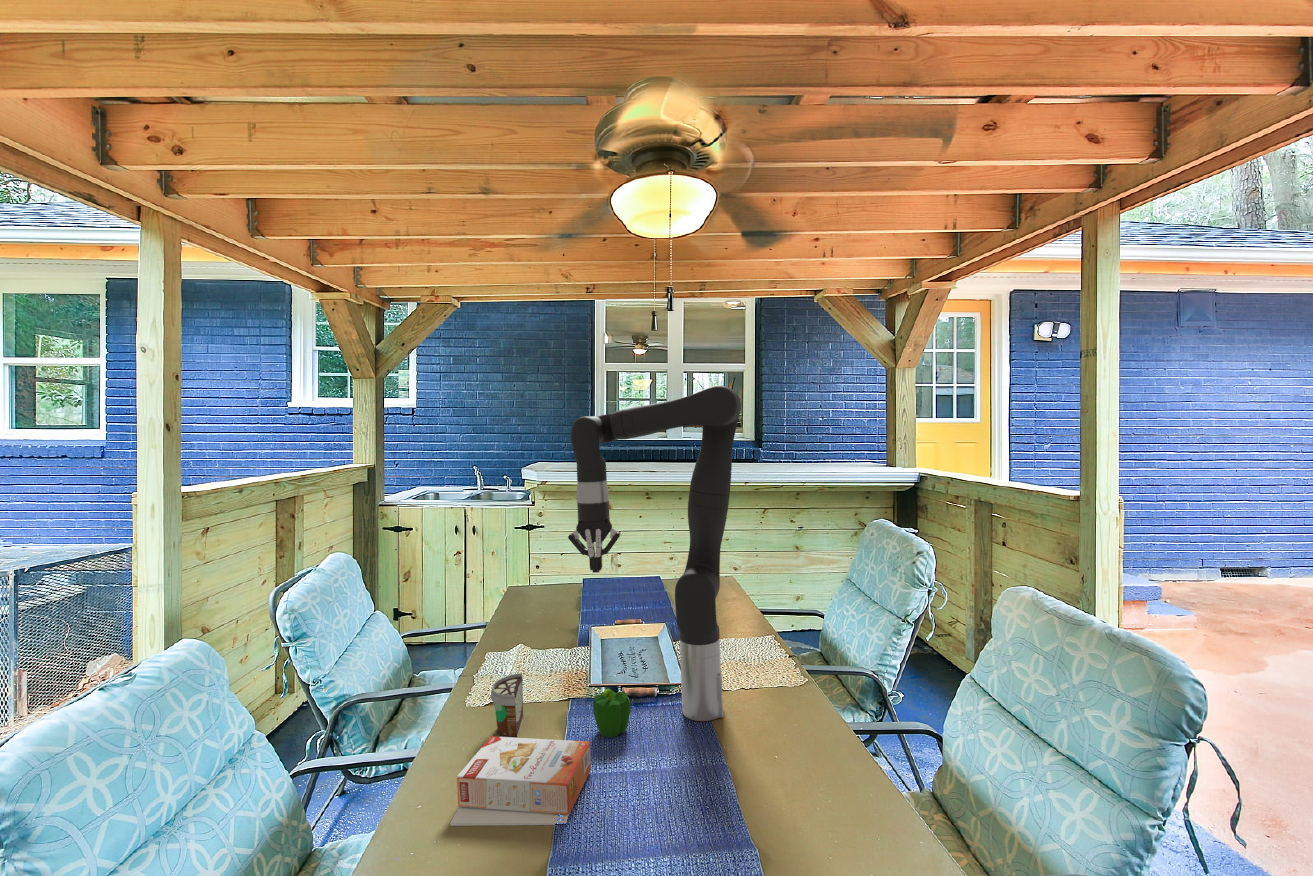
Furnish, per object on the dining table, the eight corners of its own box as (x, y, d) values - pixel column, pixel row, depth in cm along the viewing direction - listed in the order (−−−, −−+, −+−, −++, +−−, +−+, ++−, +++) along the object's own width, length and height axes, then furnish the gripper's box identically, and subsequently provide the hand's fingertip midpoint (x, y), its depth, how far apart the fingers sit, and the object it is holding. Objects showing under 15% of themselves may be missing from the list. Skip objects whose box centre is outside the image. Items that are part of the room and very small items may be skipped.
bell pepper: (614, 718, 136) (612, 675, 135) (638, 730, 130) (636, 685, 130) (585, 732, 130) (583, 687, 130) (609, 746, 124) (607, 699, 124)
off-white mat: (584, 763, 118) (584, 761, 118) (566, 824, 100) (566, 822, 100) (485, 764, 119) (485, 762, 119) (450, 825, 101) (450, 823, 101)
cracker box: (568, 781, 101) (454, 776, 105) (570, 816, 101) (456, 810, 105) (590, 738, 115) (489, 734, 118) (592, 768, 115) (490, 764, 119)
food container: (497, 716, 139) (495, 674, 139) (524, 714, 139) (522, 672, 139) (487, 744, 127) (484, 698, 126) (516, 742, 127) (514, 696, 127)
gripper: (622, 496, 145) (625, 567, 146) (568, 498, 146) (571, 568, 146) (618, 501, 138) (622, 575, 138) (562, 503, 138) (565, 576, 139)
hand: (596, 571), depth 142 cm, fingers closed
